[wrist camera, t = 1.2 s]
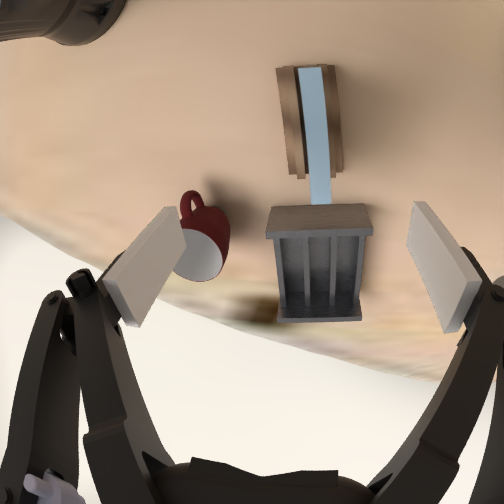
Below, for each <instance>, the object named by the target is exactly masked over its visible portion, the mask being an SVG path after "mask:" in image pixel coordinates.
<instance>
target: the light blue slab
mask: <svg viewBox="0 0 504 504" xmlns="http://www.w3.org/2000/svg"><path fill="white" fill-rule="evenodd" d="M298 74H299V81H300V89H301V97H302V105H303V114H304V123H305V132H306V143H307V154H308V166H309V178H310V192H311V205H312V204H331V179H330V159H329V143H328V129H327V118H326V107H325V97H324V88H323V80H322V72H321V67H311V68H298Z"/></svg>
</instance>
